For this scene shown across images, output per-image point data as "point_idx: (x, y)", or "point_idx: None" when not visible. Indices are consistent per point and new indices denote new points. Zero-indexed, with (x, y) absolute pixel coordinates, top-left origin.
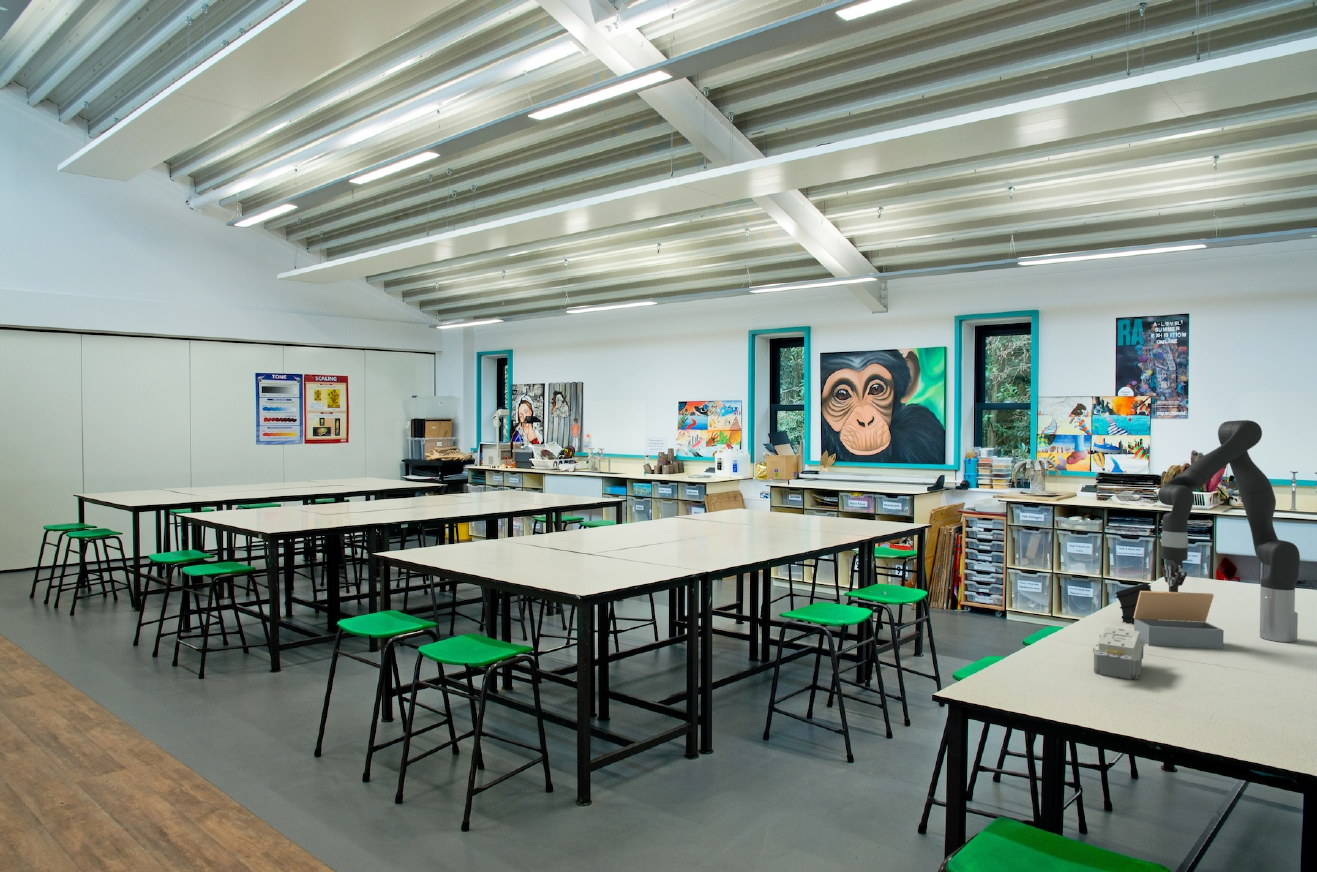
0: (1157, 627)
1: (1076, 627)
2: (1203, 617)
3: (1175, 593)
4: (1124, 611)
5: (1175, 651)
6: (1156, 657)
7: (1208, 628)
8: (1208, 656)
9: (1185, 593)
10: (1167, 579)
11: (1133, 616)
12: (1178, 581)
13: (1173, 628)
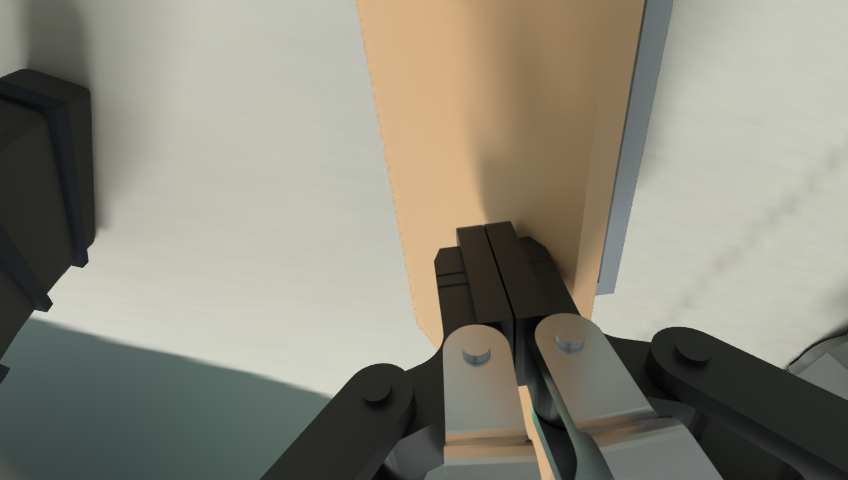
0: (620, 258)
1: (335, 393)
2: None
3: (593, 291)
4: (54, 276)
5: (684, 155)
6: (769, 251)
7: None
8: (800, 13)
9: (605, 186)
10: (418, 474)
11: (67, 225)
12: (631, 401)
13: (634, 182)
